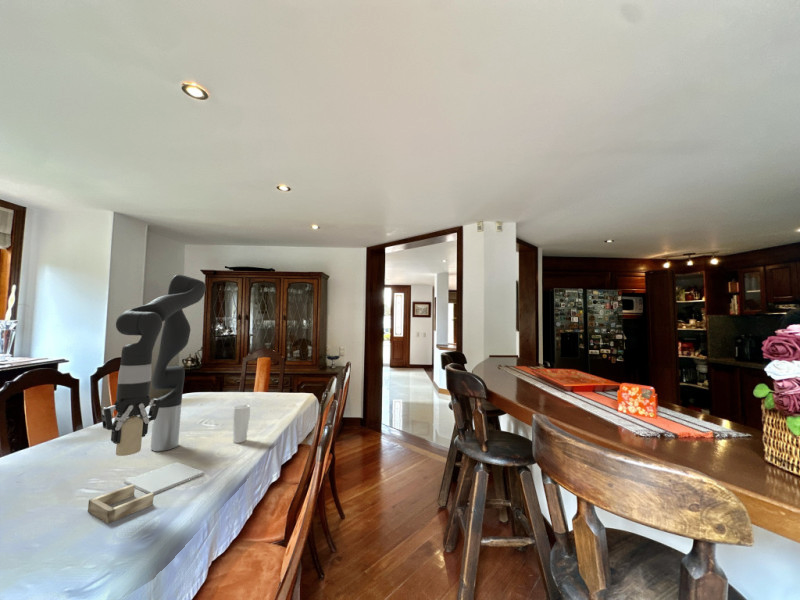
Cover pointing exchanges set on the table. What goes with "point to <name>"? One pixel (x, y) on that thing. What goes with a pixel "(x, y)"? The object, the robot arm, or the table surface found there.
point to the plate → (163, 478)
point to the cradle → (110, 514)
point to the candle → (130, 436)
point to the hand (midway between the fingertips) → (129, 439)
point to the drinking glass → (240, 423)
